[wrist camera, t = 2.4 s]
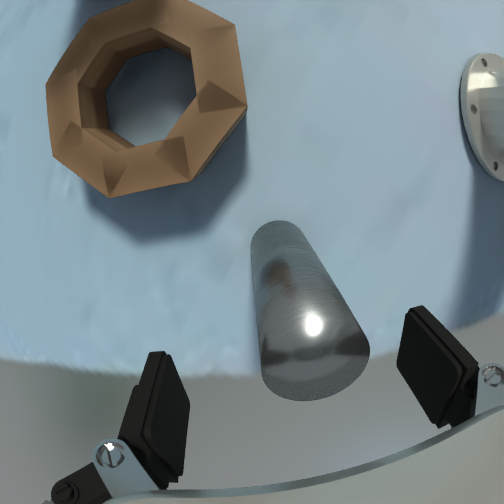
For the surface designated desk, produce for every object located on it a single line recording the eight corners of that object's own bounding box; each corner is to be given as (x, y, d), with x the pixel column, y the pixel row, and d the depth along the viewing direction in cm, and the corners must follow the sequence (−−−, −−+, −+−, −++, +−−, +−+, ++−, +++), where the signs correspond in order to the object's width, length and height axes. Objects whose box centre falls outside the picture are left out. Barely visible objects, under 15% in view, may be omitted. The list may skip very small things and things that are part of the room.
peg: (303, 217, 20) (374, 310, 9) (307, 268, 21) (363, 389, 10) (246, 224, 20) (254, 331, 9) (254, 276, 21) (267, 407, 10)
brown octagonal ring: (229, 6, 14) (227, -21, 10) (253, 165, 19) (256, 171, 15) (73, 51, 14) (45, 39, 11) (92, 197, 19) (63, 210, 15)
